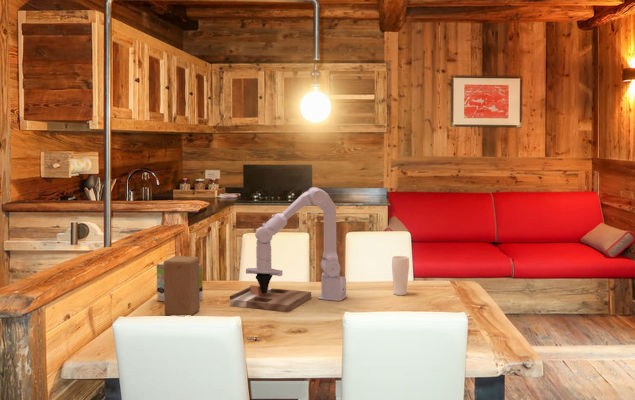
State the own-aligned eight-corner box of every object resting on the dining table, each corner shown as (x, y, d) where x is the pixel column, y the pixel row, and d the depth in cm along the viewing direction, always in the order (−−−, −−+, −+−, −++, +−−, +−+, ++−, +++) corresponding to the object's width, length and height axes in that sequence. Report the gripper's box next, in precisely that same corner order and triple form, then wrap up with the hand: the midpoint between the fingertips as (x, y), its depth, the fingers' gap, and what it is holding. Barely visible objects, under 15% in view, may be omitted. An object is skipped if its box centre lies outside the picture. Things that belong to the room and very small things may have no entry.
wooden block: (190, 317, 228) (188, 261, 226) (163, 316, 230) (162, 260, 228) (200, 310, 238) (199, 256, 236) (175, 308, 240) (174, 255, 238)
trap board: (311, 298, 255) (311, 288, 255) (288, 312, 235) (288, 302, 234) (256, 292, 264) (256, 283, 264) (229, 305, 244) (229, 296, 243)
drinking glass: (408, 292, 264) (408, 256, 263) (409, 296, 258) (409, 259, 256) (391, 292, 265) (391, 255, 263) (391, 296, 258) (392, 258, 257)
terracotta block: (268, 292, 254) (268, 285, 254) (258, 294, 250) (258, 287, 250) (260, 290, 258) (260, 282, 257) (250, 292, 254) (250, 284, 254)
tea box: (156, 301, 251) (155, 263, 249) (173, 295, 260) (172, 259, 258) (187, 306, 244) (186, 267, 242) (203, 300, 253) (203, 262, 251)
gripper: (285, 257, 250) (285, 292, 252) (251, 255, 255) (251, 289, 256) (278, 260, 244) (278, 296, 245) (243, 258, 248) (243, 293, 250)
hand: (264, 293), depth 250 cm, fingers closed
